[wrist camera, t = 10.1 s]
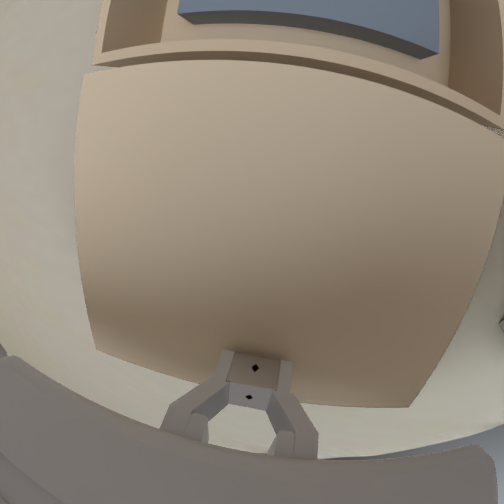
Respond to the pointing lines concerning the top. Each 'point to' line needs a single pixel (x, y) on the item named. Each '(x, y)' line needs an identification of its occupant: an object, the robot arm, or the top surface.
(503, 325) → the supplement box
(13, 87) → the top surface
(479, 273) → the lid
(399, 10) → the box
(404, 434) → the top surface
